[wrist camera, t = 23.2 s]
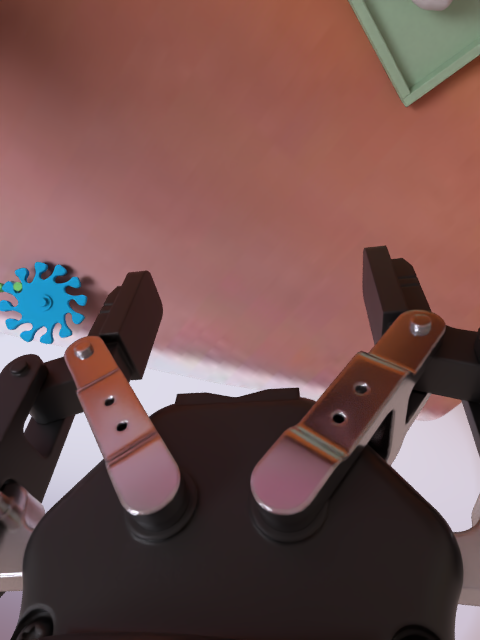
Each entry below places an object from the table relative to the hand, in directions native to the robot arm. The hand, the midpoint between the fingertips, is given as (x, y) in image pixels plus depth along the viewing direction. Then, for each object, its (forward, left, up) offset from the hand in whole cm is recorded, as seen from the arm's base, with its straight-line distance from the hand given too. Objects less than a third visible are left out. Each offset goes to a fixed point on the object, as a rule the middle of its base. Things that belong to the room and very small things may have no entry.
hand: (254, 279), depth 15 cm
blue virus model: (0, -35, -28) cm, 45 cm away
